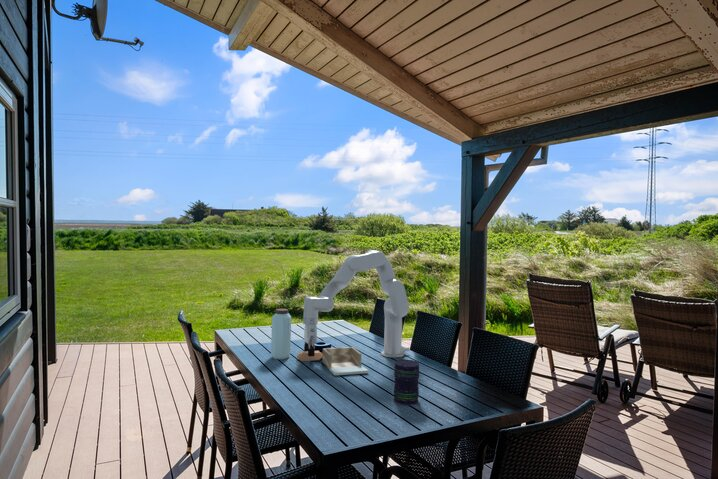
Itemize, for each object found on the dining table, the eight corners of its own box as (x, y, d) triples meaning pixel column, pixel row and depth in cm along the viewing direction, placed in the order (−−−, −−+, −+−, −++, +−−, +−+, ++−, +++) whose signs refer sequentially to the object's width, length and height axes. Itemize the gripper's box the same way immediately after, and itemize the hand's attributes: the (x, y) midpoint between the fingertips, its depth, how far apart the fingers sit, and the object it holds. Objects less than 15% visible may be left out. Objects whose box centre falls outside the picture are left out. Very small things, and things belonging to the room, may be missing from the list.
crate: (352, 360, 232) (352, 346, 232) (361, 368, 219) (361, 353, 219) (322, 362, 227) (322, 348, 227) (329, 370, 214) (329, 355, 214)
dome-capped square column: (321, 357, 236) (321, 350, 236) (323, 359, 232) (323, 352, 232) (296, 359, 232) (296, 351, 232) (297, 361, 228) (297, 353, 228)
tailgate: (362, 365, 218) (368, 370, 210) (362, 368, 218) (368, 373, 210) (329, 367, 213) (334, 372, 204) (329, 370, 213) (334, 375, 204)
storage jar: (402, 394, 183) (403, 350, 183) (423, 400, 177) (424, 355, 177) (388, 400, 176) (389, 355, 176) (409, 407, 169) (410, 359, 169)
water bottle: (266, 358, 232) (268, 309, 232) (278, 353, 241) (280, 307, 241) (282, 361, 228) (283, 311, 228) (294, 356, 237) (295, 309, 236)
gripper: (321, 323, 225) (320, 357, 225) (313, 317, 242) (312, 349, 241) (306, 324, 223) (305, 358, 223) (300, 317, 239) (298, 350, 239)
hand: (309, 353), depth 232 cm, fingers open, 9 cm apart
